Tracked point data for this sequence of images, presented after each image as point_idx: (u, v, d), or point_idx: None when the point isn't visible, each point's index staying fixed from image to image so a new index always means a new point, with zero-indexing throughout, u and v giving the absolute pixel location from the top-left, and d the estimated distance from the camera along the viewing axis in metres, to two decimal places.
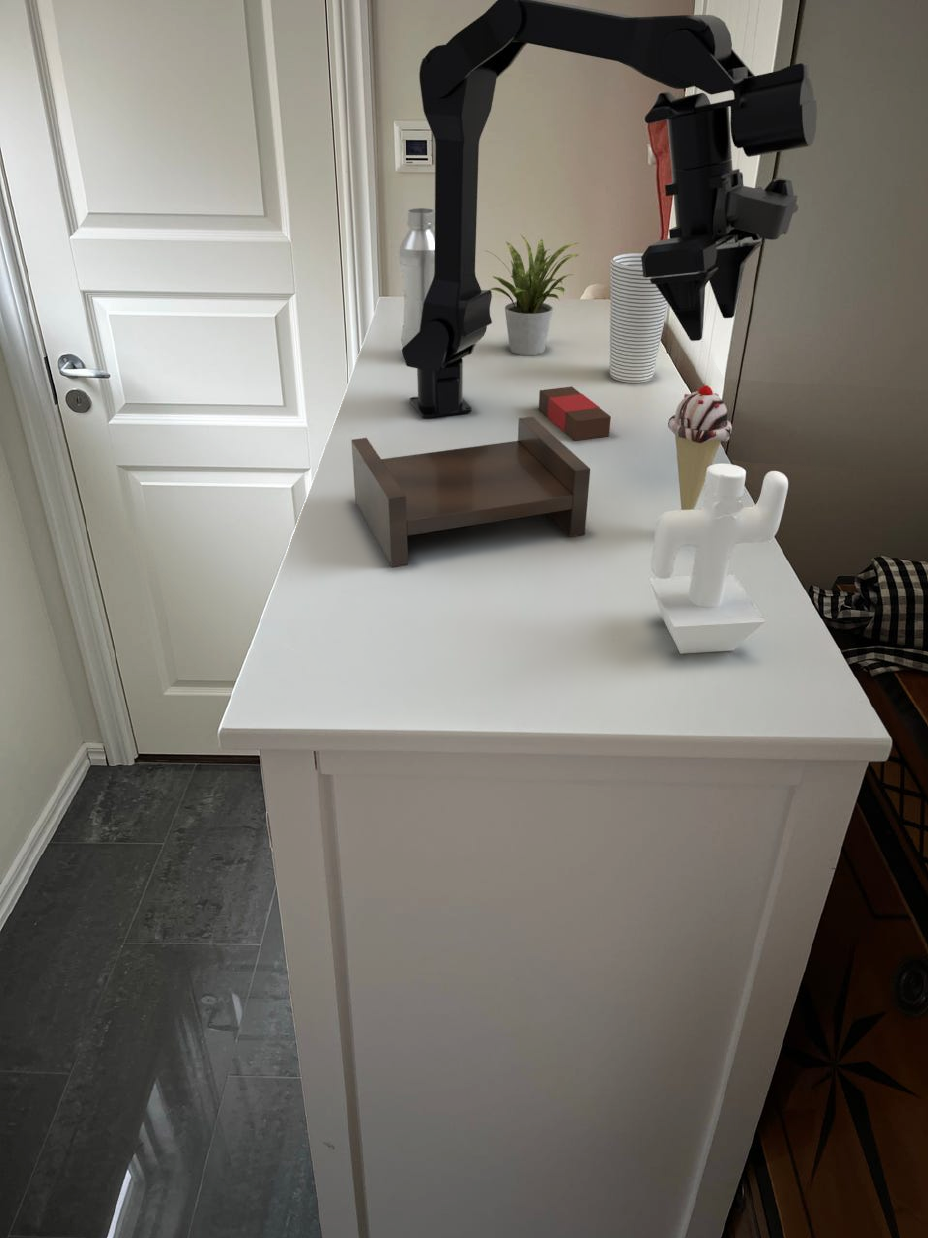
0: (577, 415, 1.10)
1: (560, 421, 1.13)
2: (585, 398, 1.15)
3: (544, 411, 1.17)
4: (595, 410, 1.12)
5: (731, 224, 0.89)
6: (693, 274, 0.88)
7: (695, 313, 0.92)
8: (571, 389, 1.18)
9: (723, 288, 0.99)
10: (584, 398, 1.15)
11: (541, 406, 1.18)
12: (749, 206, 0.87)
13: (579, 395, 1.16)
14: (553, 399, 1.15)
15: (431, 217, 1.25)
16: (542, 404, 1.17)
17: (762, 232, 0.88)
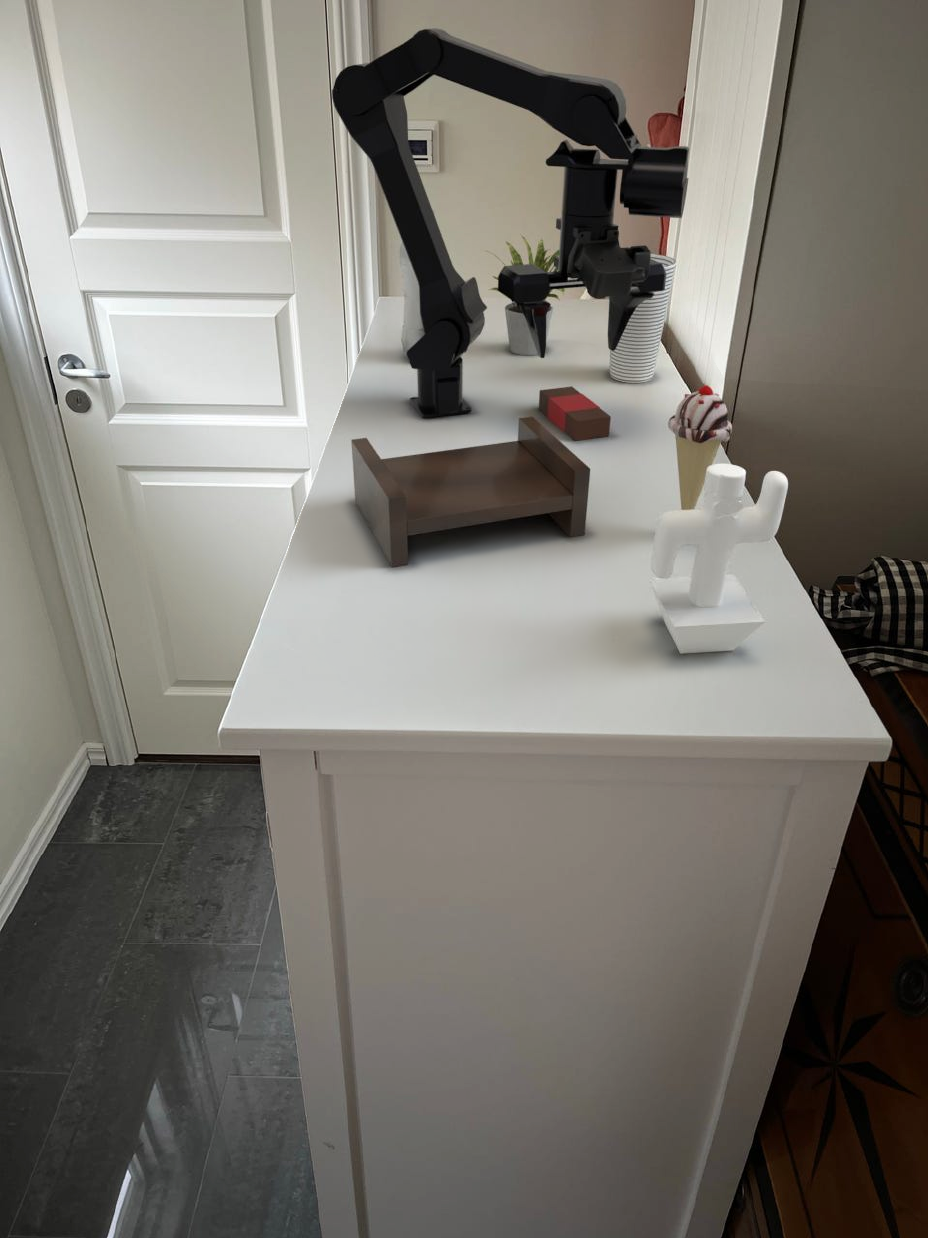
0: (577, 415, 1.10)
1: (560, 421, 1.13)
2: (585, 398, 1.15)
3: (544, 411, 1.17)
4: (595, 410, 1.12)
5: (579, 272, 1.02)
6: (522, 302, 1.03)
7: (536, 334, 1.07)
8: (571, 389, 1.18)
9: (612, 322, 1.10)
10: (584, 398, 1.15)
11: (541, 406, 1.18)
12: (586, 262, 0.99)
13: (579, 395, 1.16)
14: (553, 399, 1.15)
15: None
16: (542, 404, 1.17)
17: (588, 289, 1.00)
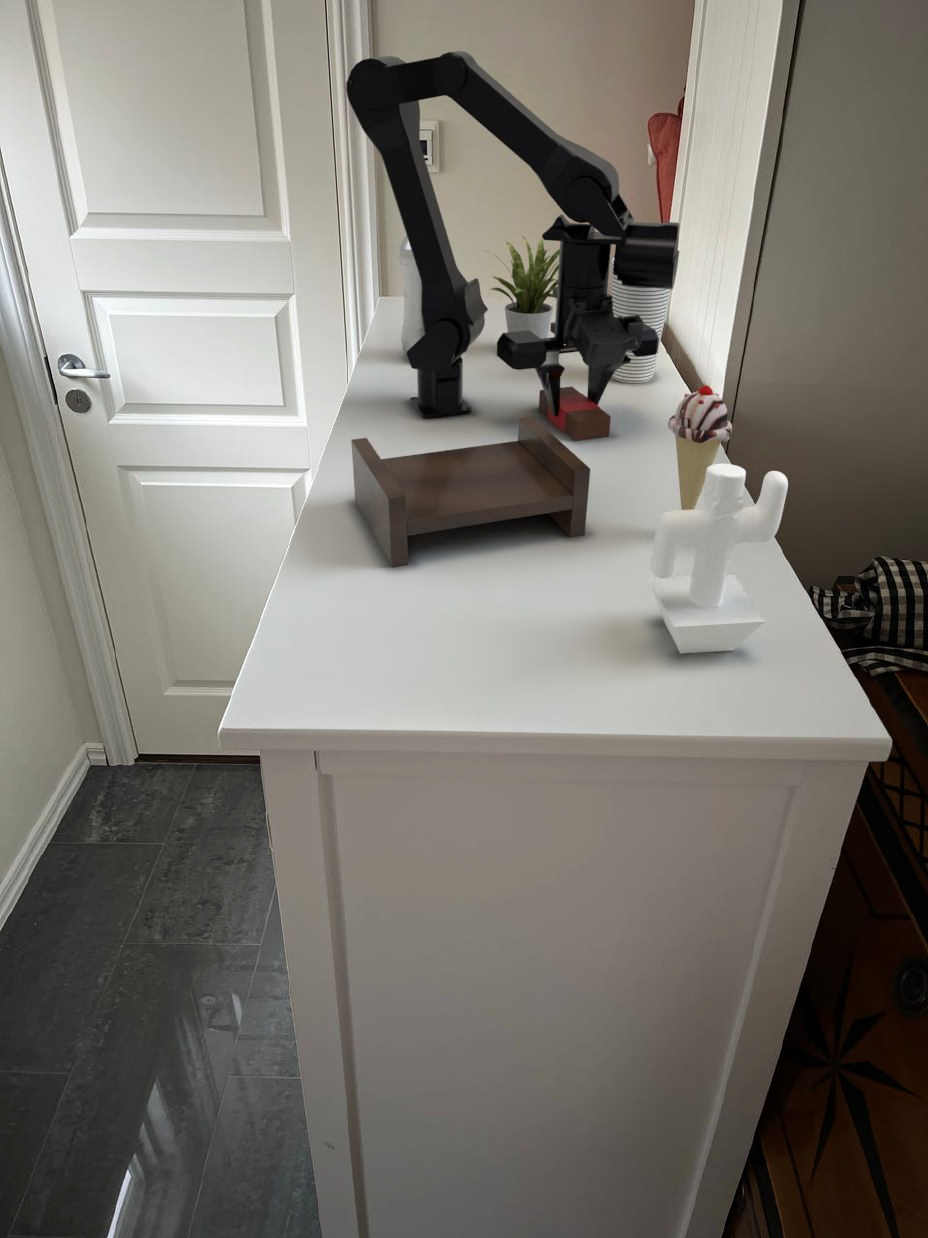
0: (577, 415, 1.10)
1: (560, 421, 1.13)
2: (585, 398, 1.15)
3: (544, 411, 1.17)
4: (595, 410, 1.12)
5: (575, 340, 1.06)
6: None
7: (550, 395, 1.12)
8: (572, 389, 1.18)
9: (592, 385, 1.14)
10: (584, 398, 1.15)
11: (541, 406, 1.18)
12: (581, 332, 1.03)
13: (579, 395, 1.16)
14: None
15: None
16: (542, 404, 1.17)
17: (583, 357, 1.04)
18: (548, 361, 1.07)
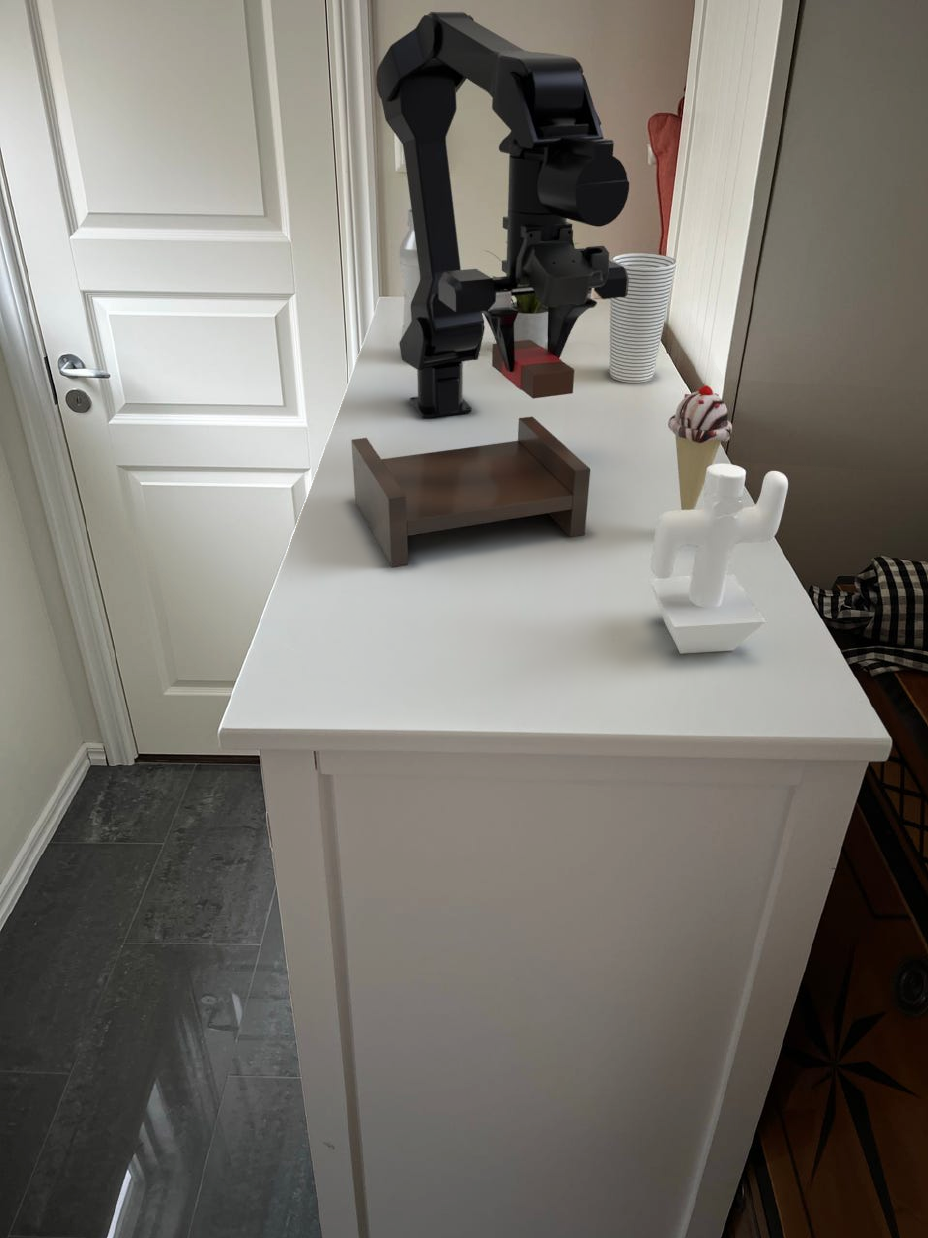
0: (535, 368, 0.94)
1: (516, 377, 0.96)
2: (545, 351, 0.98)
3: (498, 368, 1.01)
4: (556, 363, 0.95)
5: None
6: (486, 310, 0.91)
7: (503, 346, 0.95)
8: (530, 342, 1.01)
9: (552, 335, 0.97)
10: (543, 351, 0.98)
11: (495, 362, 1.01)
12: (535, 266, 0.87)
13: (538, 348, 0.99)
14: None
15: None
16: (496, 360, 1.01)
17: (539, 296, 0.87)
18: (498, 303, 0.91)
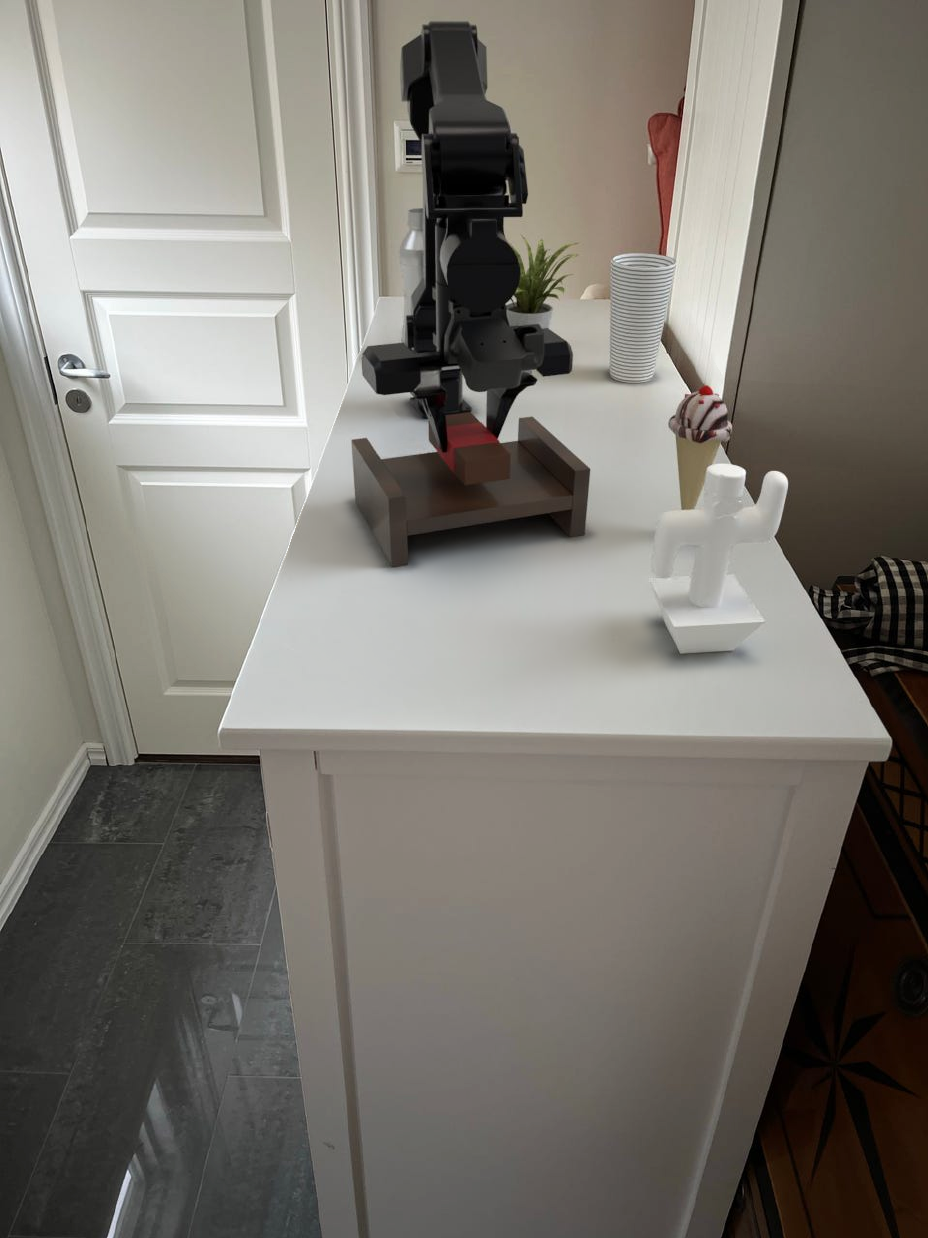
0: (467, 452, 0.85)
1: (449, 459, 0.88)
2: (483, 428, 0.90)
3: (434, 444, 0.92)
4: (492, 445, 0.87)
5: None
6: None
7: (434, 426, 0.87)
8: (469, 416, 0.93)
9: (490, 412, 0.89)
10: (481, 429, 0.90)
11: (431, 438, 0.93)
12: (462, 346, 0.78)
13: (476, 424, 0.91)
14: None
15: None
16: (431, 435, 0.92)
17: (466, 379, 0.79)
18: (425, 383, 0.82)
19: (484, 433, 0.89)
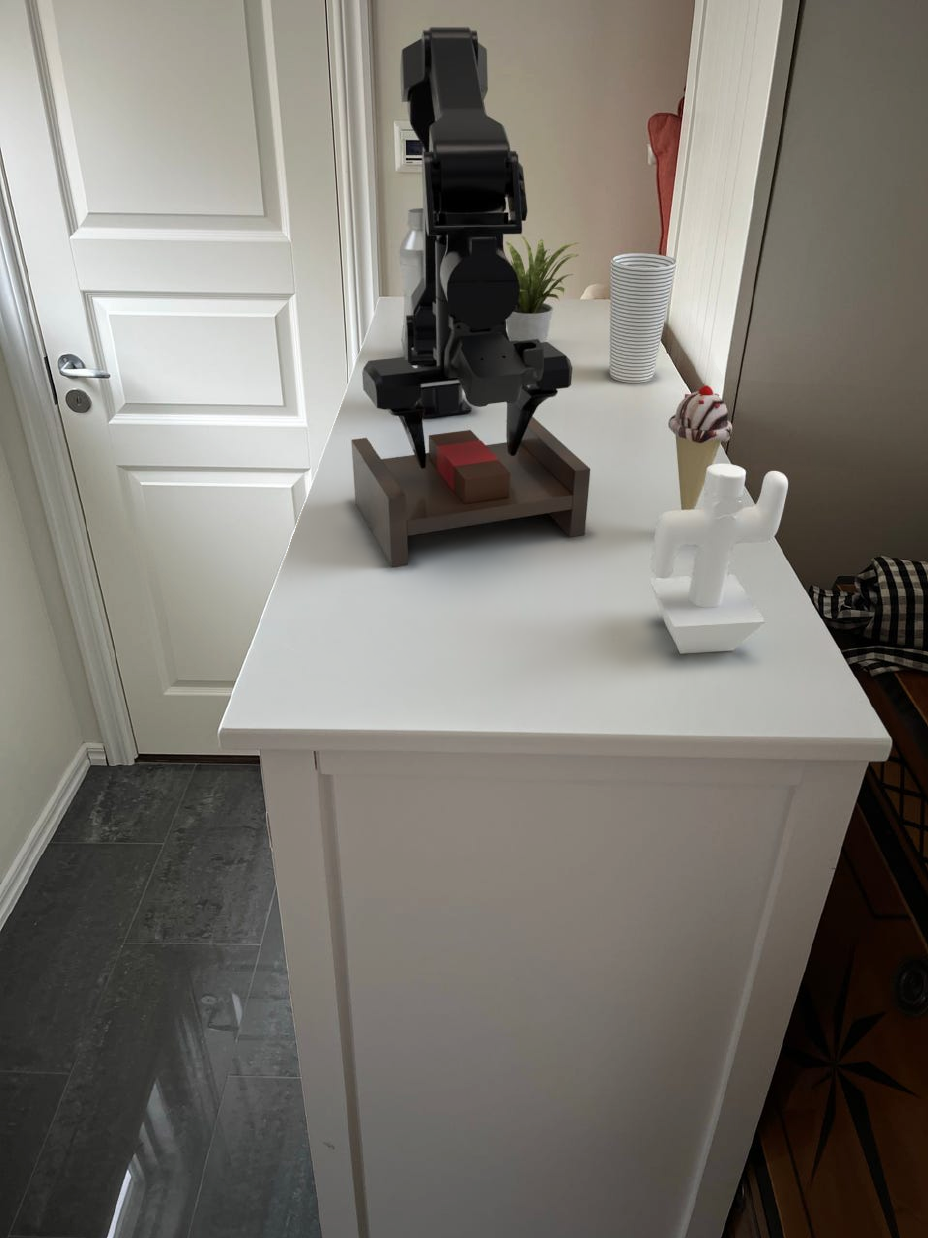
0: (467, 471, 0.86)
1: (449, 477, 0.89)
2: (483, 447, 0.91)
3: (434, 462, 0.93)
4: (492, 464, 0.88)
5: (458, 371, 0.81)
6: None
7: (412, 442, 0.87)
8: (469, 434, 0.94)
9: (511, 423, 0.90)
10: (481, 447, 0.91)
11: (431, 455, 0.94)
12: (462, 361, 0.79)
13: (476, 442, 0.92)
14: (442, 448, 0.91)
15: None
16: (432, 453, 0.93)
17: (466, 394, 0.79)
18: None
19: (484, 451, 0.90)
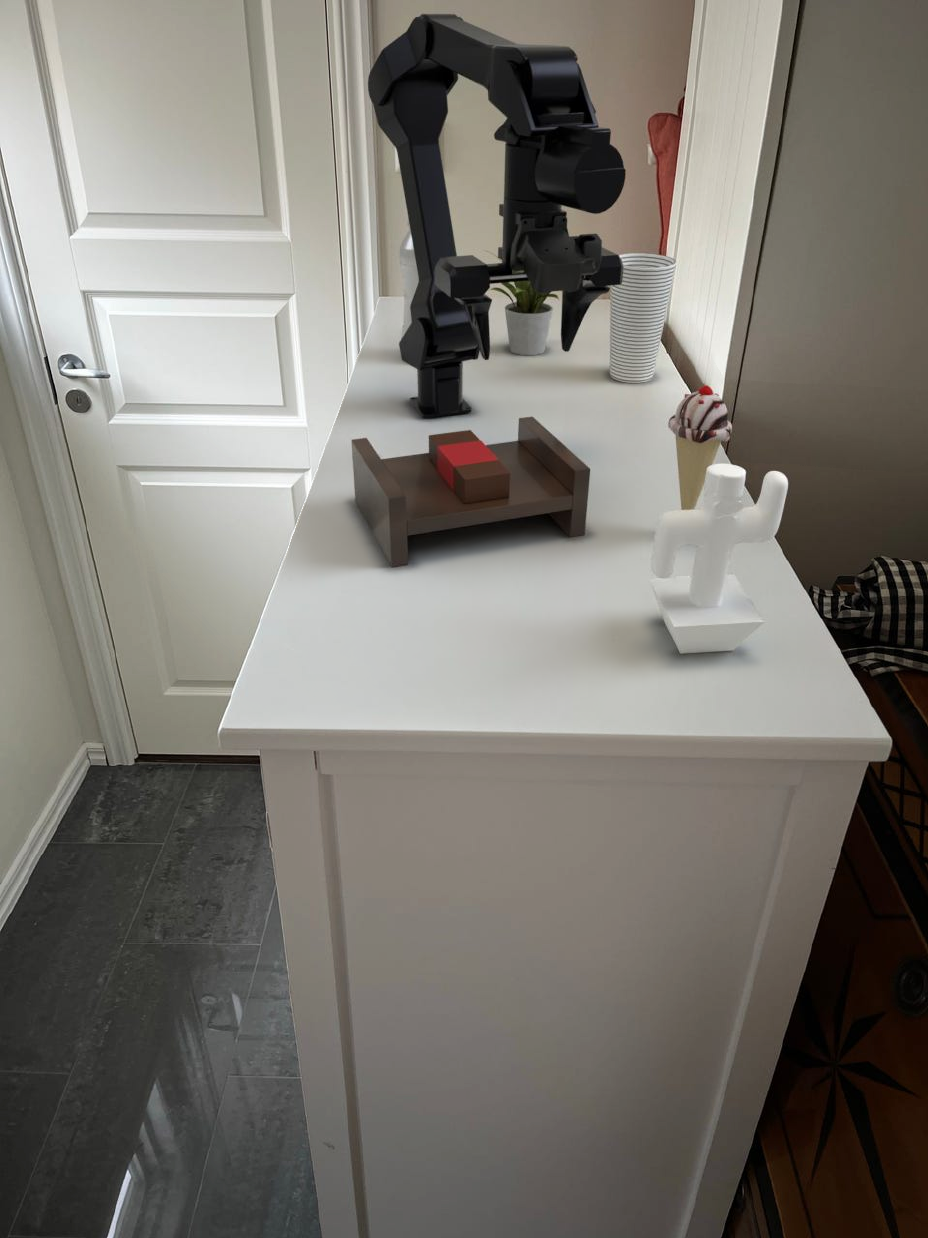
0: (467, 471, 0.86)
1: (449, 477, 0.89)
2: (483, 447, 0.91)
3: (434, 462, 0.93)
4: (492, 464, 0.88)
5: None
6: (460, 298, 0.92)
7: (478, 334, 0.96)
8: (469, 434, 0.94)
9: (565, 320, 0.99)
10: (481, 447, 0.91)
11: (431, 455, 0.94)
12: (529, 253, 0.88)
13: (476, 442, 0.92)
14: (442, 448, 0.91)
15: None
16: (432, 453, 0.93)
17: (532, 282, 0.89)
18: None
19: (484, 451, 0.90)
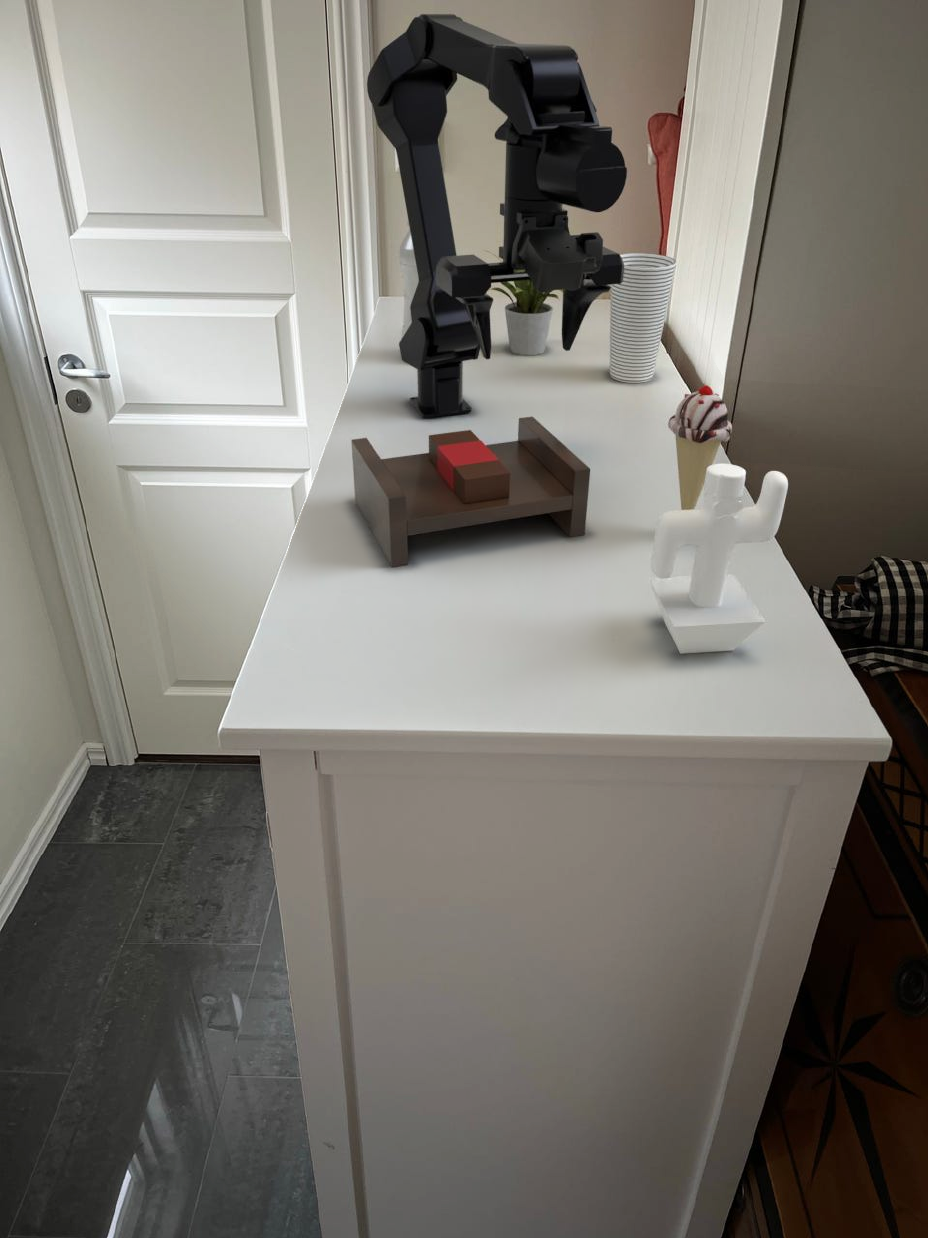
0: (467, 471, 0.86)
1: (449, 477, 0.89)
2: (483, 447, 0.91)
3: (434, 462, 0.93)
4: (492, 464, 0.88)
5: None
6: (462, 297, 0.92)
7: (479, 333, 0.96)
8: (469, 434, 0.94)
9: (566, 320, 0.99)
10: (481, 447, 0.91)
11: (431, 455, 0.94)
12: (530, 252, 0.88)
13: (476, 442, 0.92)
14: (442, 448, 0.91)
15: None
16: (432, 453, 0.93)
17: (533, 281, 0.89)
18: None
19: (484, 451, 0.90)
